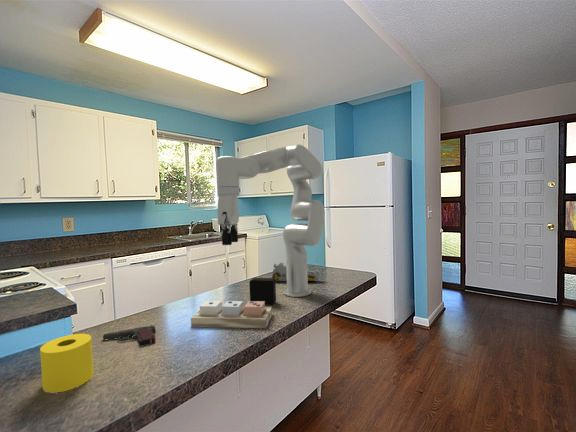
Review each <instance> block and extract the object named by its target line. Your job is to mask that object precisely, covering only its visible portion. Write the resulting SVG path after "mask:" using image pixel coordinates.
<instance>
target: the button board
mask: <svg viewBox="0 0 576 432" xmlns="http://www.w3.org/2000/svg"><path fill="white" fill-rule="evenodd" d="M244 306H245V305H243V311H242V312H241V314H240V315H239V316H222V310H221V311H220V312H219V313H218V314H217V316H215V315H200V309H199V310H198V311H197V312H196V313H194V315H192V316H191V317H190V325H191V326H190V327H197V328H198V327H199V328H200V327H201V328H202V327H204V328H243V329H244V328H245V329H250V328H253V329H267V326H268V325H269V322H270V321H271V318H272V316H273V307H272V306H265V311H264V313H263V315H262V316H245V315H244Z"/></svg>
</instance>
